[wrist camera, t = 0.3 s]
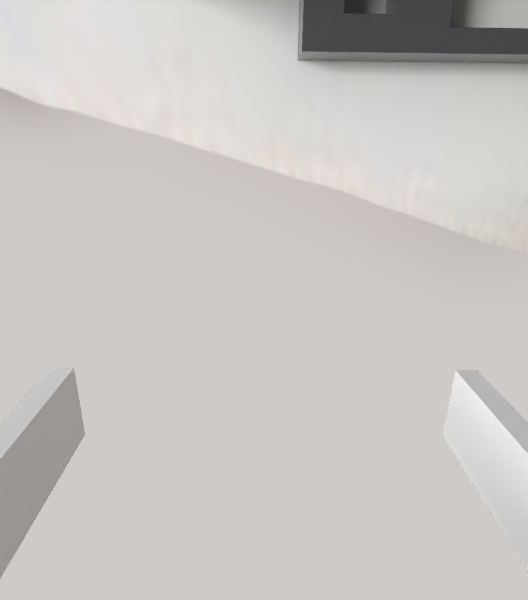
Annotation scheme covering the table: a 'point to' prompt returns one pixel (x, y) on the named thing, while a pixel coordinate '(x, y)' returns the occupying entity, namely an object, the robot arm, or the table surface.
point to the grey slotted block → (402, 35)
